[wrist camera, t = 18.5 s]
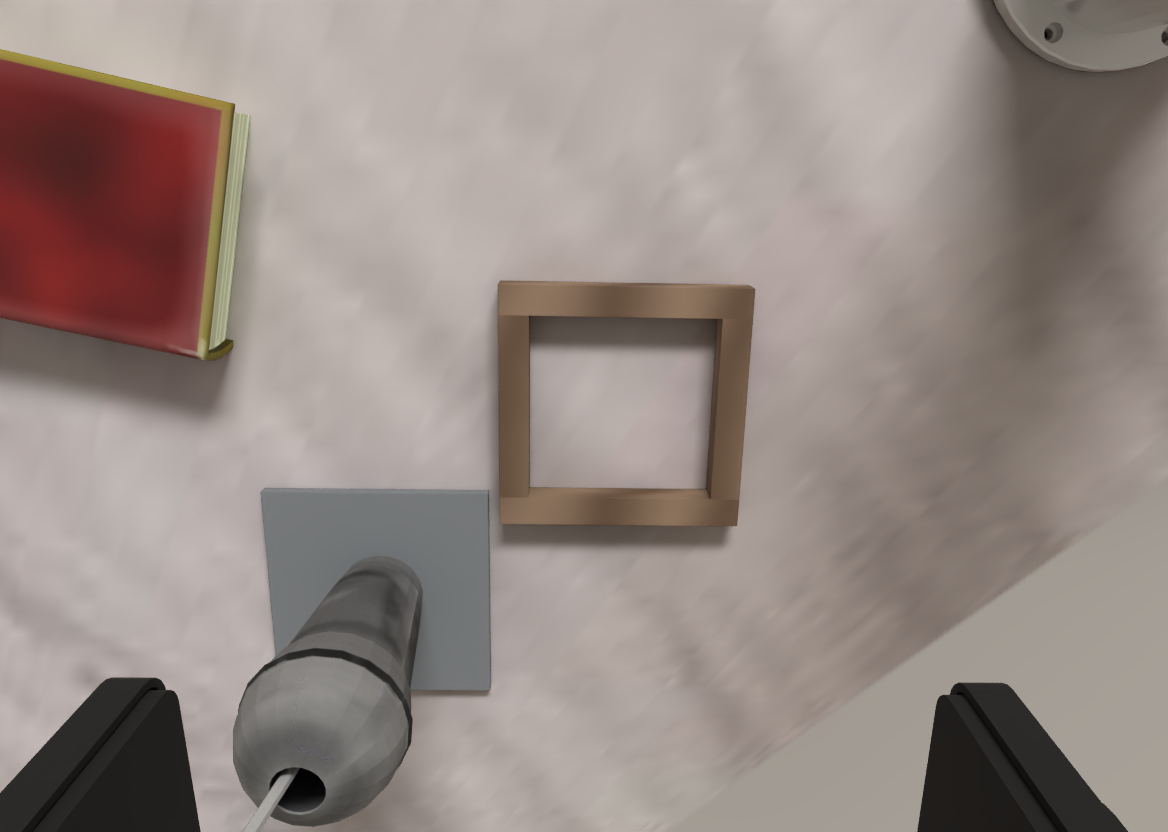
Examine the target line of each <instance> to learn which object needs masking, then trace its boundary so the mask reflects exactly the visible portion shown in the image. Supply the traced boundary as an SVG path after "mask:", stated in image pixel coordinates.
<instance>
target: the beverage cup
mask: <svg viewBox="0 0 1168 832" xmlns="http://www.w3.org/2000/svg"><path fill="white" fill-rule="evenodd" d="M422 594H423V590H422V586H421V583H420V580H419V578H418V577H417V575H416V574H415V572H414V571H413V569H411V568H410V567H409V566H407V565H406V564H405V563H404V562H402V561H400V560H397V559H395V558H392V557H387V556H373V557H368V558H364V559H362V560H360V561H358V562H356V563H355V564H353V565H352V566H351V568H350V569H349V570H348V571H347V572H346V573H345V574H344V575H343V576H342V577H341V579H340V580H339V581H338V582H337V583H336V584H335V585H334V586H333V588H332V589H331V590H330V592H329V593H328V594H327V596H326V597H325V598H324V599H323V601H322V602H321V603H320V605H319V606H318V607H317V609H316V610H315V611H314V613H313V614H312V615H311V616H310V618H309V619H308V620H307V622H306V623H305V624H304V626H303V627H302V628H301V629H300V631H299V632H298V633H297V635H296V636H295V637H294V639H293V640H292V641H291V642H290V644H289V645H288V646H286V647H285V648H284V649H283V650H282V651H281V652H280V653H279V654H278V655H277V656H276V657H275V658H274V659H273V660H272V661H271V662H270V663H268V664H266V665H264V666H263V668H262V669H261V670H260V671H259V672H258V673H257V674H256V675H255V676H254V677H253V678H252V679H251V681H250V682H249V683H248V684H247V687H246V689H245V692H244V694H243V697H242V699H241V702H240V704H239V709H238V716H237V718H236V721H235V725H234V729H233V763H234V766H235V769H236V772H237V775H238V777H239V780H240V783H241V785H242V788H243V790H244V791H245V792H246V794H247V795H248V796H249V797H250V798H251V800H252V801H253V802H254V803H255V804H256V806H257V807H258V809H257V811H256V812H255V814H254V815H253V817H252V819H251V820H250V822H249V823H248V825H247V826H246V828H245V829H244V831H243V832H260V830H261V829H262V827H263V826H264V824H265V823H266V821H267V819H268V818H269V816H271V817H273V818H274V819H277V820H280V821H283V822H285V823H288V824H291V825H298V826H311V827H314V826H319V825H324V824H330V823H334V822H339V821H341V820H343V819H345V818H347V817H349V816H351V815H353V814H355V813H357V812H358V811H360V810H362V809H363V808H365V807H366V806H367V805H368V804H369V803H370V802H371V801H372V800H373V799H374V798H375V797H376V796H377V795H378V794H379V793H380V792H381V791H382V790H383V789H384V788H385V787H386V786H387V785H388V783H389V782H390V780H391V779H392V777H393V775H394V773H395V771H396V769H397V768H398V767H399V766H400V764H401V763H402V761H403V759H404V756H405V754H406V752H407V750H408V748H409V746H410V744H411V735H412V721H413V719H412V716H411V692H410V687H411V681H412V674H413V667H414V661H415V654H416V647H417V641H418V634H419V627H420V621H421V610H422Z"/></svg>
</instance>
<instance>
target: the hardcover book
mask: <svg viewBox="0 0 1168 832" xmlns="http://www.w3.org/2000/svg"><path fill="white" fill-rule="evenodd" d="M234 111H235V104H233V103H229V102H224V101H220V100H216V99H211V98H207V97H203V96H199V95H194V94H190V93H186V92H181V91H177V90H173V89H169V88H164V87H160V86H156V85H151V84H147V83H143V82H139V81H134V80H130V79H126V78H121V77H117V76H113V75H109V74H104V73H100V72H96V71H92V70H87V69H83V68H79V67H74V66H70V65H66V64H62V63H57V62H53V61H49V60H44V59H40V58H36V57H32V56H27V55H23V54H19V53H14V52H10V51H6V50H2V49H0V318H4V319H9V320H14V321H19V322H24V323H28V324H33V325H38V326H43V327H48V328H52V329H57V330H62V331H67V332H72V333H76V334H81V335H86V336H91V337H96V338H100V339H105V340H110V341H115V342H120V343H124V344H129V345H134V346H139V347H144V348H148V349H153V350H158V351H163V352H168V353H173V354H177V355H182V356H187V357H192V358H197V359H201V360H206V361H212V360H216V359H219V358H221V357H222V356H224V355H225V354H227V353H228V352H229V351H230V350H231V349H232V348H233V340H228V339H226V331H227V322H228V313H229V304H230V295H231V286H232V277H233V268H234V259H235V250H236V241H237V232H238V223H239V214H240V205H241V196H242V187H243V178H244V169H245V160H246V151H247V142H248V133H249V124H250V116H249V115H245V114H241V113H237V112H234Z"/></svg>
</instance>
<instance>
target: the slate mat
mask: <svg viewBox="0 0 1168 832" xmlns="http://www.w3.org/2000/svg"><path fill="white" fill-rule="evenodd" d="M261 501H262V511H263V522H264V533H265V544H266V555H267V566H268V577H269V588H270V599H271V610H272V620H273V631H274V642H275V653H276V656H277V655H278V654H279V653H280V652H281V651H282V650H283V649H284V648H285V647H286V646H288V645H289V644H290V642H291V641H292V640H293V639H294V637H295V636H296V635H297V633H298V632H299V631H300V629H301V628H302V627H303V626H304V624H305V623H306V622H307V620H308V619H309V618H310V616H311V615H312V614H313V613H314V611H315V610H316V609H317V607H318V606H319V605H320V603H321V602H322V601H323V599H324V598H325V597H326V596H327V594H328V593H329V592H330V590H331V589H332V588H333V586H334V585H335V584H336V583H337V582H338V581H339V580H340V579H341V577H342V576H343V575H344V574H345V573H346V572H347V571H348V570H349V569H350V568H351V566H352V565H353V564H355V563H356V562H358V561H360V560H362V559H364V558H368V557H373V556H387V557H392V558H395V559H397V560H400V561H402V562H404V563H405V564H406V565H407V566H409V567H410V568H411V569H413V571H414V572H415V574H416V575H417V577H418V578H419V580H420V583H421V586H422V590H423V594H422V610H421V621H420V627H419V634H418V641H417V647H416V654H415V661H414V667H413V674H412V681H411V687H410V690H490V688H491V640H490V554H489V490H397V489H301V488H264V489H263V490H262V491H261Z"/></svg>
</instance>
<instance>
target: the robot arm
mask: <svg viewBox="0 0 1168 832" xmlns="http://www.w3.org/2000/svg"><path fill="white" fill-rule="evenodd" d="M994 3H995V5H996V8H997V10H998V11H999V13H1000V15H1001V16H1002V18H1003V19H1004V21H1005V23H1006V24H1007V26H1008V27H1009V29H1010V30H1011V32H1012V33H1013V34H1014V35H1015V36H1016V37H1017V38H1018V39H1019V40H1020V41H1021V42H1022V43H1023V44H1024V45H1025V46H1026V47H1027V48H1028V49H1030V50H1032V51H1033V52H1035V53H1036V54H1038V55H1039V56H1041V57H1042V58H1044V59H1045V60H1047V61H1049V62H1052V63H1055V64H1057V65H1060V66H1063V67H1066V68H1068V69H1073V70H1081V71H1088V72H1105V71H1118V70H1123V69H1128V68H1132V67H1137V66H1143V65H1145V64H1148V63H1151V62H1153V61H1156V60H1159V59H1161V58H1164V57H1166V56H1168V0H994ZM1044 31H1046V32H1047V39H1045V38H1044ZM1161 36H1162V40H1161ZM0 832H200V826H199V820H198V814H197V808H196V802H195V796H194V790H193V784H192V778H191V772H190V766H189V760H188V754H187V748H186V742H185V736H184V730H183V724H182V717H181V711H180V705H179V700H178V697H177V695H176V693H175V692H174V691H172V690H166V689H165V686H164V684H163V682H162V681H161V680H160V679H157V678H109V679H106V680H105V681H104V682H103V683H101V684H100V685H99V686H98V687H97V688H96V690H95V691H94V692H93V693H92V694H91V695H90V696H89V697H88V698H87V699H86V700H85V702H84V703H83V704H82V705H81V706H80V707H79V708H78V709H77V710H76V711H75V712H74V713H73V715H72V716H71V717H70V718H69V719H68V720H67V721H66V722H65V723H64V724H63V725H62V727H61V728H60V729H59V730H58V731H57V732H56V733H55V734H54V735H53V736H52V737H51V738H50V740H49V741H48V742H47V743H46V744H45V745H44V746H43V747H42V748H41V749H40V750H39V752H38V753H37V754H36V755H35V756H34V757H33V758H32V759H31V760H30V761H29V762H28V763H27V765H26V766H25V767H24V768H23V769H22V770H21V771H20V772H19V773H18V774H17V775H16V777H15V778H14V779H13V780H12V781H11V782H10V783H9V784H8V785H7V786H6V787H5V788H4V790H3V791H2V792H1V793H0ZM917 832H1128V831H1127V830H1126V828H1125V827H1124V826H1123V825H1122V823H1121V822H1120V821H1119V820H1118V818H1117V817H1116V816H1115V815H1114V814H1113V813H1112V812H1111V811H1110V810H1109V809H1108V808H1107V807H1106V806H1105V805H1104V804H1103V803H1101V801H1100V800H1099V799H1098V797H1097V796H1096V795H1095V794H1094V792H1093V791H1092V790H1091V789H1090V787H1089V786H1088V785H1087V784H1086V782H1085V781H1084V780H1083V779H1082V777H1081V776H1080V775H1079V773H1078V772H1077V771H1076V769H1075V768H1074V767H1073V766H1072V764H1071V763H1070V762H1069V761H1068V759H1067V758H1066V757H1065V755H1064V754H1063V753H1062V752H1061V750H1060V749H1059V748H1058V747H1057V745H1056V744H1055V743H1054V742H1053V740H1052V739H1051V738H1050V736H1049V735H1048V734H1047V733H1046V731H1045V730H1044V729H1043V727H1042V726H1041V725H1040V724H1039V722H1038V721H1037V720H1036V719H1035V717H1034V716H1033V715H1032V713H1031V712H1030V711H1029V710H1028V708H1027V707H1026V706H1025V705H1024V703H1023V702H1022V701H1021V700H1020V698H1019V697H1018V696H1017V694H1016V693H1015V692H1014V691H1013V689H1012V688H1010V687H1009V686H1008V685H1007V684H1004V683H957V684H955V685H954V686H953V688H952V689H951V693H950V695H942V696H940V697H939V699H938V701H937V705H936V710H935V718H934V723H933V730H932V737H931V744H930V750H929V757H928V764H927V770H926V777H925V784H924V791H923V798H922V804H921V811H920V817H919V824H918V831H917Z"/></svg>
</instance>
